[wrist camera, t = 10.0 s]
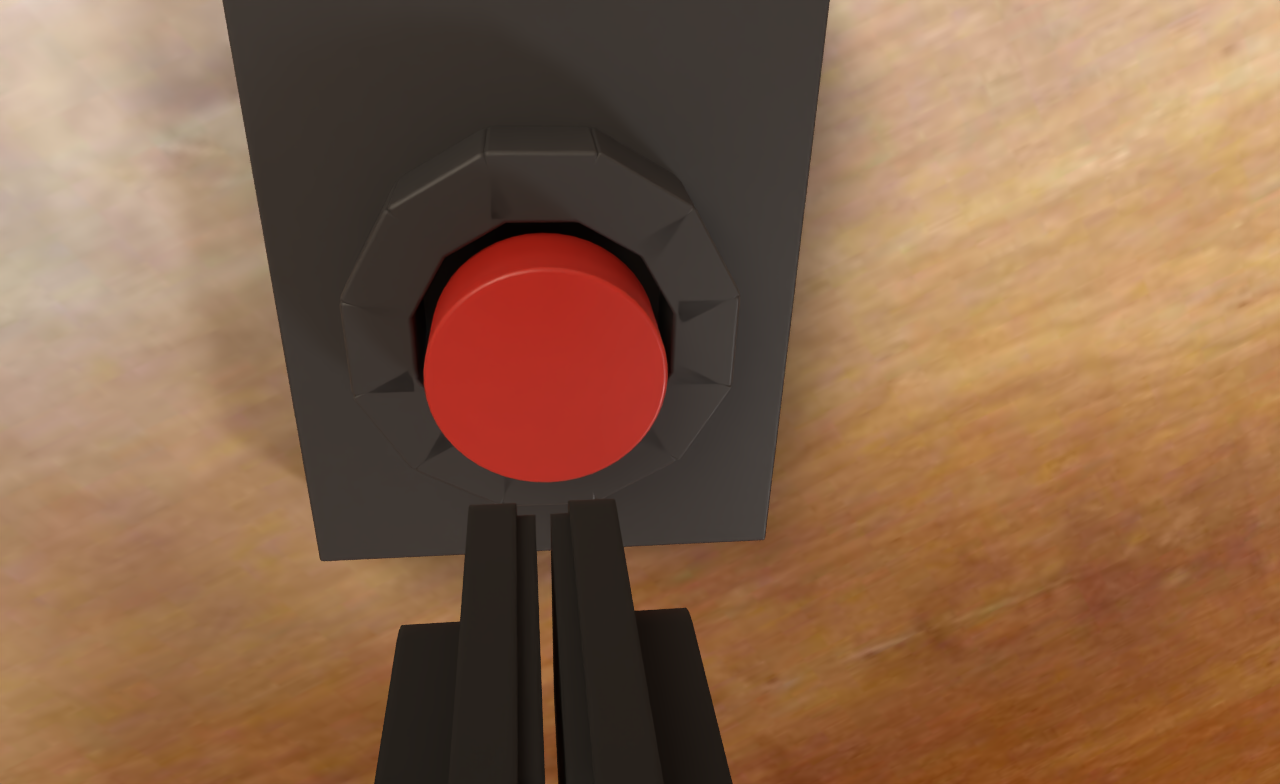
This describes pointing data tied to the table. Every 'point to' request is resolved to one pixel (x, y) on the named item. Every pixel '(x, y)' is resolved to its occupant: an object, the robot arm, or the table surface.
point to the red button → (544, 359)
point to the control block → (522, 204)
